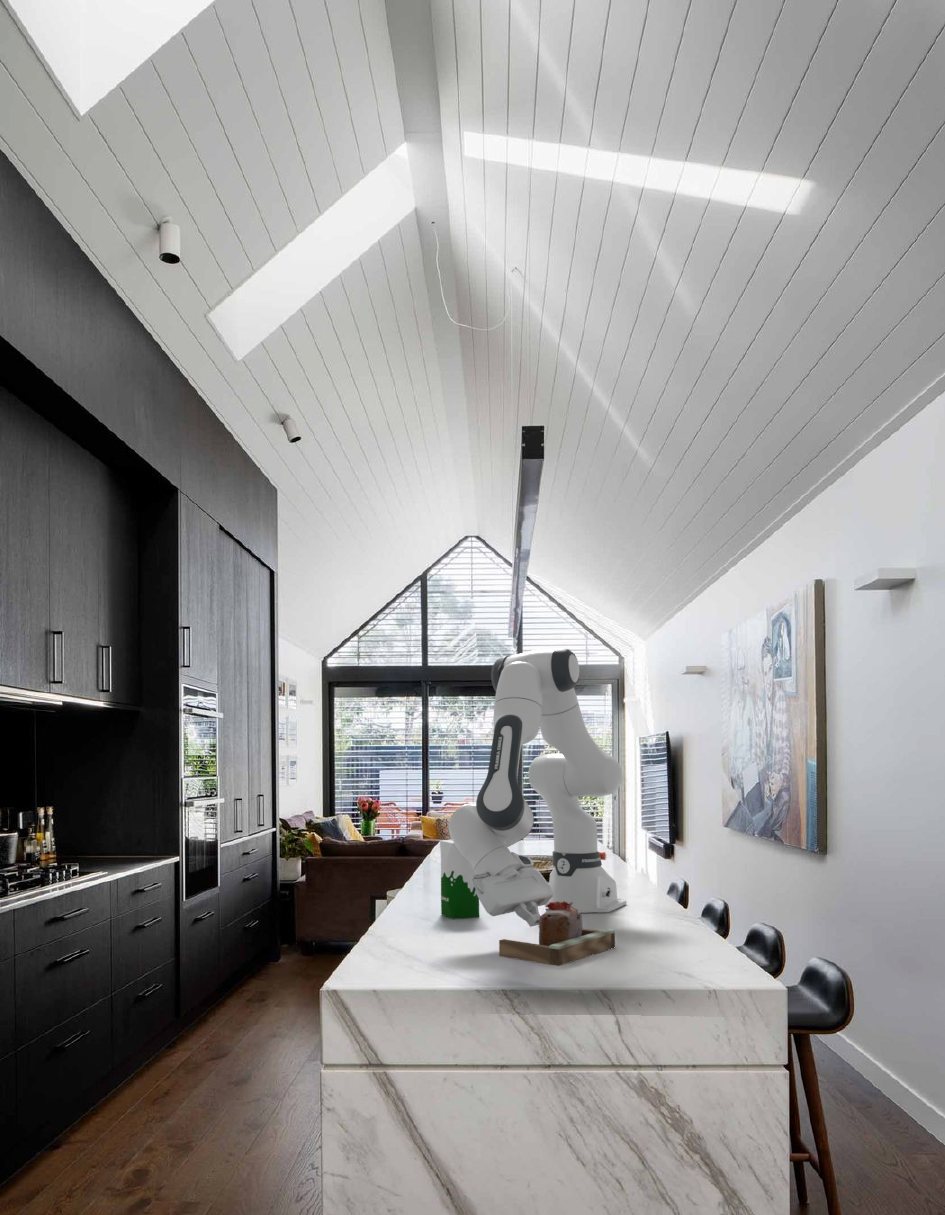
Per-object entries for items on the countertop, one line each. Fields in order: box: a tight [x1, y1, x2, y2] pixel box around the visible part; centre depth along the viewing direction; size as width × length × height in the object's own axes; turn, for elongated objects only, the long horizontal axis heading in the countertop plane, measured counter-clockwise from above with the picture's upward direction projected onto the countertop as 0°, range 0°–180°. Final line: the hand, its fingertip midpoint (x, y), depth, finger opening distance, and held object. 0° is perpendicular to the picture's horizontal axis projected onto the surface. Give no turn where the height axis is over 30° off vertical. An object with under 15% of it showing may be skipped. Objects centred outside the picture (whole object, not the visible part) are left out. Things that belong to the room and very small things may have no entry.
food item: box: [538, 901, 583, 946], centre depth 201 cm, size 14×8×10 cm, turn 168°
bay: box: [498, 927, 616, 967], centre depth 199 cm, size 21×14×4 cm, turn 141°
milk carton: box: [439, 838, 480, 920], centre depth 241 cm, size 9×9×20 cm
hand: (537, 923), depth 202 cm, fingers closed
